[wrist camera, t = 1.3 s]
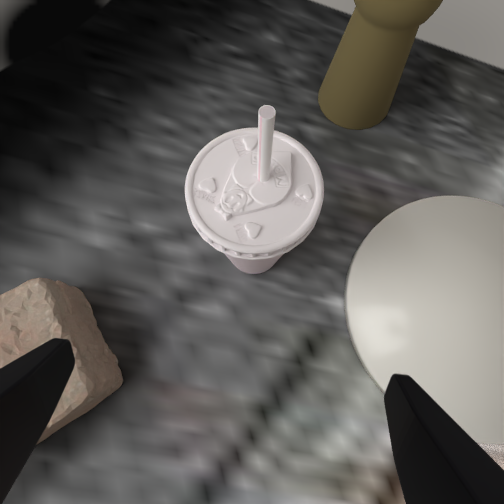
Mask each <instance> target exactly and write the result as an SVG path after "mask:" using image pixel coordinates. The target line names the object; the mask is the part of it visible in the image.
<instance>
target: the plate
mask: <svg viewBox="0 0 504 504" xmlns="http://www.w3.org/2000/svg"><path fill="white" fill-rule="evenodd" d="M344 311H345V317H346V324H347V328H348V332H349V335H350V339H351V342H352V344H353V347H354V349H355V351H356V354H357V356H358V358H359V360H360V362H361V363H362V365H363V367H364V369H365V370H366V372H367V374H368V375H369V376H370V378H371V379H372V380H373V382H374V383H375V384H376V386H377V387H378V388H379V389H380V390H381V391H382V392H383V393H384V394H385V391H386V388H387V386H388V383H389V381H390V378H391V376H392V375H393V374H395V373H396V374H406V375H409V376H410V377H412V378H413V379H414V380H415V381H416V382H417V383H418V384H419V385H420V386H421V387H422V388H423V389H424V390H425V391H426V392H427V393H428V394H429V395H430V396H431V397H432V399H433V400H434V401H435V402H436V403H437V404H438V405H439V406H440V407H441V408H442V409H443V410H444V411H445V412H446V413H447V414H448V415H449V416H450V417H451V418H452V419H453V420H454V421H455V422H456V423H457V424H458V425H459V426H460V427H461V428H462V429H463V430H464V431H465V432H466V433H467V434H468V435H469V436H470V437H471V438H472V439H473V440H474V441H475V442H477V443H483V444H504V207H503V206H501V205H498V204H496V203H493V202H490V201H486V200H482V199H479V198H472V197H466V196H450V195H449V196H436V197H430V198H425V199H421V200H418V201H415V202H412V203H409V204H407V205H405V206H403V207H401V208H399V209H397V210H395V211H394V212H392V213H391V214H389V215H388V216H386V217H385V218H384V219H383V220H382V221H381V222H380V223H379V224H377V225H376V226H375V227H374V228H373V229H372V230H371V231H370V232H369V234H368V235H367V236H366V237H365V239H364V240H363V241H362V242H361V244H360V245H359V247H358V249H357V251H356V252H355V254H354V256H353V259H352V261H351V264H350V266H349V269H348V273H347V277H346V282H345V291H344Z"/></svg>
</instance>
